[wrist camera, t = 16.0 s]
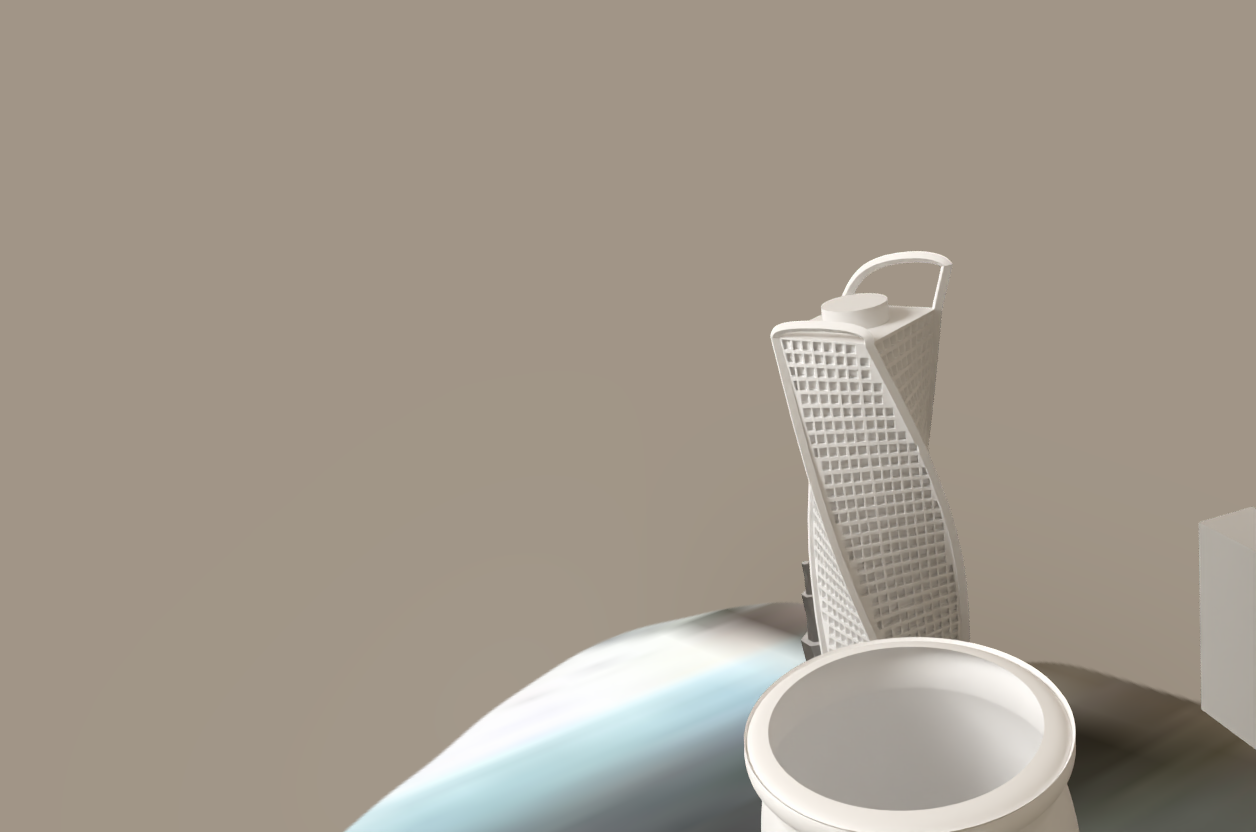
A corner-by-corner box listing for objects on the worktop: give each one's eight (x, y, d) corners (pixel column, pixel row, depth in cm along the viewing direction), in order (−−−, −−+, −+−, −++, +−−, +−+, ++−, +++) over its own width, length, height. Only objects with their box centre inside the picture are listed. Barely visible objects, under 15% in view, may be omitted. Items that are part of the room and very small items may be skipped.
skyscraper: (971, 741, 58) (922, 231, 49) (1019, 847, 51) (972, 266, 42) (815, 763, 59) (740, 263, 50) (840, 870, 51) (756, 303, 42)
